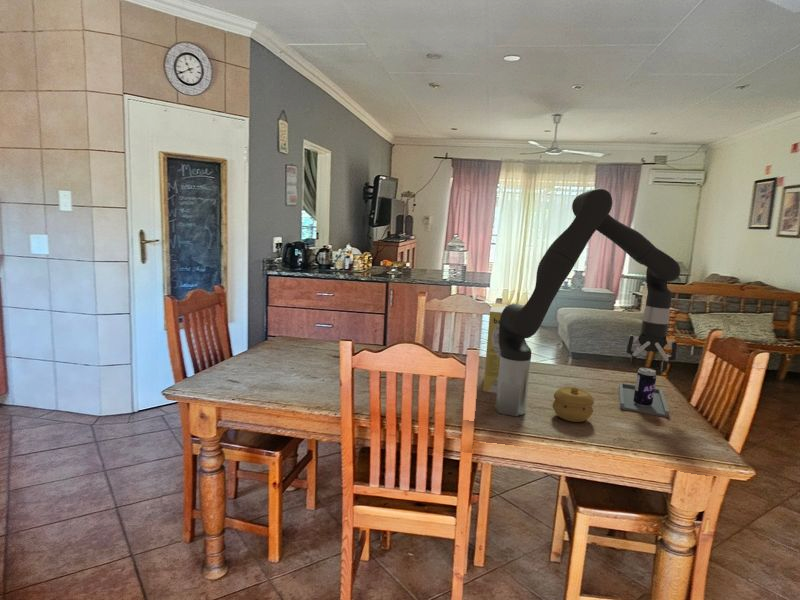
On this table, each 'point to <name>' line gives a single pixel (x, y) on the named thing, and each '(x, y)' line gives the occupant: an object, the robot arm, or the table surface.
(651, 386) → the beverage can
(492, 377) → the pasta box
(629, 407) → the gray tray
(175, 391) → the table surface
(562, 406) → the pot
